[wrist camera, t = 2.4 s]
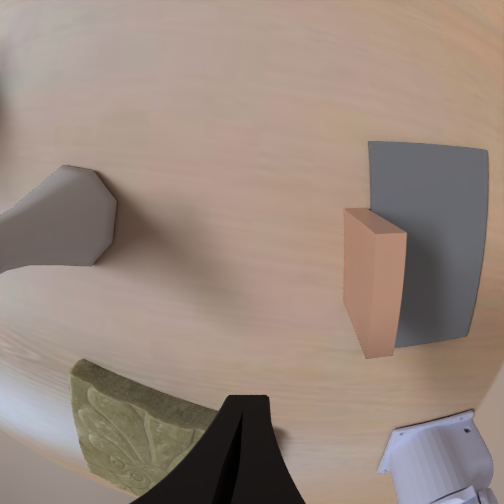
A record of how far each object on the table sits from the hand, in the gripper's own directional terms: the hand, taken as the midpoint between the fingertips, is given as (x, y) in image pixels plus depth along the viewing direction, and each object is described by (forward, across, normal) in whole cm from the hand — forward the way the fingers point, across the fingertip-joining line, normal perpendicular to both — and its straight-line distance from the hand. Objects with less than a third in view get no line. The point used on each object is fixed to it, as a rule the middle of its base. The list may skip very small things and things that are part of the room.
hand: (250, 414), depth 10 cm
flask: (+11, +13, -6) cm, 18 cm away
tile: (+11, -6, -2) cm, 12 cm away
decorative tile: (+11, +12, +19) cm, 25 cm away
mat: (+10, -11, -2) cm, 15 cm away
